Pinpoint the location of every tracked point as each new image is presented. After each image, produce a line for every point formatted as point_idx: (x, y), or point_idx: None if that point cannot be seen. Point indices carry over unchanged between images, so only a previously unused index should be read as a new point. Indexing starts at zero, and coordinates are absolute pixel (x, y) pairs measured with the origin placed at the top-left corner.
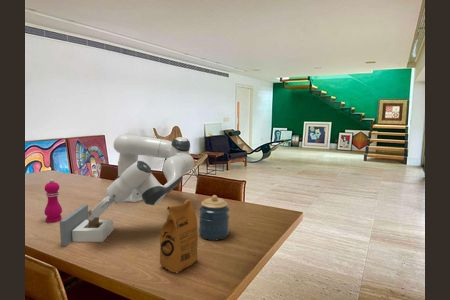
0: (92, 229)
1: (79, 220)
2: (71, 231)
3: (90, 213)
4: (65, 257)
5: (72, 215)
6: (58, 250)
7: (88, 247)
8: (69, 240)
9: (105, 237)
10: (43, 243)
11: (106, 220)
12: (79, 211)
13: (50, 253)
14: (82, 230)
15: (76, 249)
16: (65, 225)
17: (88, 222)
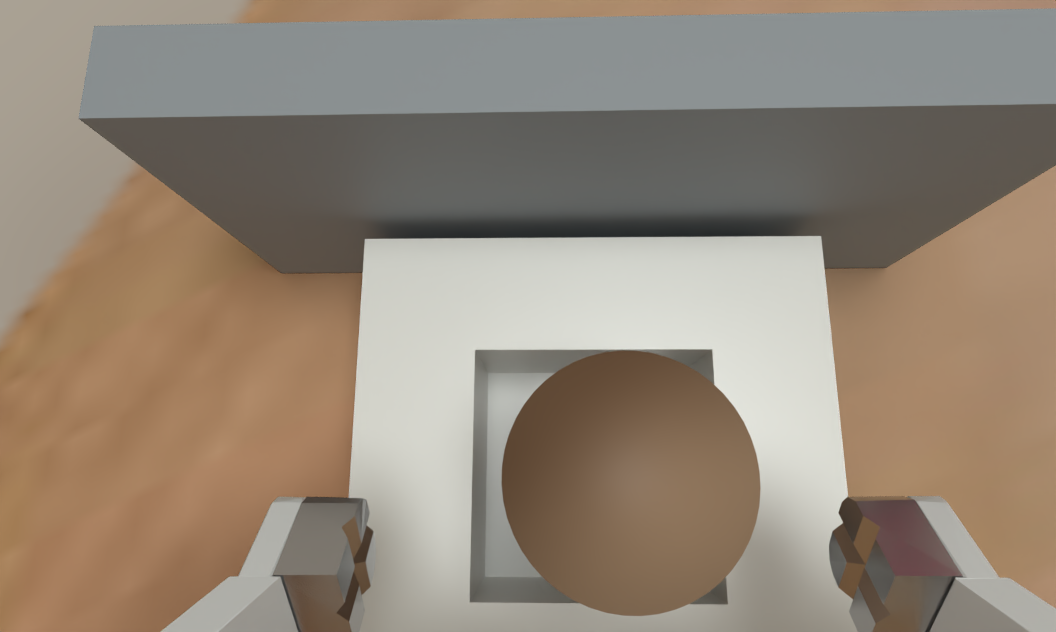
0: (405, 532)
1: (655, 198)
2: (384, 229)
3: (507, 449)
4: (5, 396)
5: (412, 101)
6: (182, 242)
7: (227, 552)
8: (350, 261)
9: None
10: (361, 16)
11: (828, 623)
12: (704, 117)
13: (120, 198)
14: (368, 386)
15: (187, 427)
16: (139, 160)
17: (701, 336)
